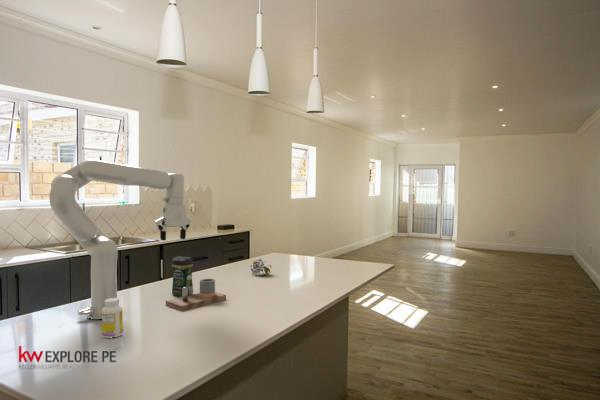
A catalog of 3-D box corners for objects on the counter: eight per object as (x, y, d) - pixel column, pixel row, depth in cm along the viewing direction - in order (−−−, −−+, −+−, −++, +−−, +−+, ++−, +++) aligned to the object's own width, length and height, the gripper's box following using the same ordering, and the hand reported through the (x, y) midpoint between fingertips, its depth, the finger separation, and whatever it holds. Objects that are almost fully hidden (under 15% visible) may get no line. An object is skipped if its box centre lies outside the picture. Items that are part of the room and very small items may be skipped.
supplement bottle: (117, 330, 149) (116, 296, 149) (126, 335, 145) (125, 299, 145) (98, 336, 144) (97, 299, 144) (107, 340, 140) (106, 303, 139)
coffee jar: (169, 295, 197) (168, 257, 197) (180, 291, 205) (180, 254, 204) (185, 297, 193) (184, 258, 193) (195, 293, 201) (195, 256, 200)
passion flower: (255, 284, 242) (243, 268, 243) (264, 277, 251) (253, 261, 252) (267, 276, 236) (255, 259, 237) (276, 269, 246) (265, 252, 247)
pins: (184, 301, 180) (184, 287, 180) (181, 300, 181) (181, 286, 181) (211, 295, 191) (211, 281, 190) (208, 294, 192) (208, 281, 192)
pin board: (180, 310, 173) (180, 306, 173) (165, 305, 181) (165, 300, 181) (226, 299, 191) (226, 294, 191) (210, 294, 199) (210, 290, 199)
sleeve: (205, 298, 186) (205, 282, 186) (197, 295, 190) (197, 280, 190) (217, 295, 191) (217, 280, 191) (209, 292, 195) (209, 278, 195)
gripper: (161, 201, 173) (159, 241, 174) (195, 201, 186) (194, 239, 187) (152, 200, 178) (150, 239, 179) (186, 201, 191) (185, 237, 192)
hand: (173, 239), depth 183 cm, fingers open, 9 cm apart
